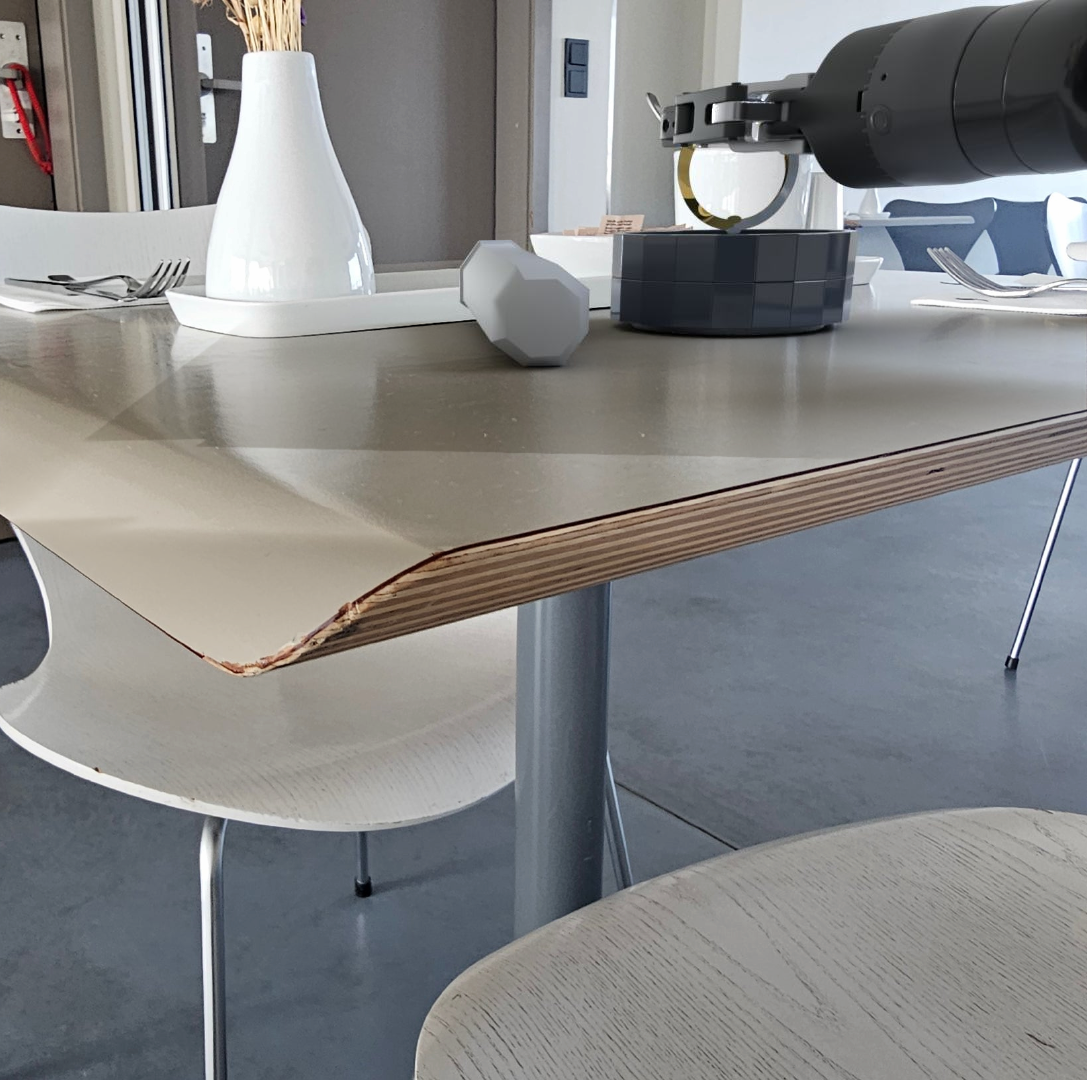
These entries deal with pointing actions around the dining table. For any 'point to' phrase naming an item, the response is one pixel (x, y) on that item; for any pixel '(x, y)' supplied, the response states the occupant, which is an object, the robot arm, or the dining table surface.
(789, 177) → the ring
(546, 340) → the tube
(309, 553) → the dining table surface
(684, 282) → the bowl
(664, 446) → the dining table surface
